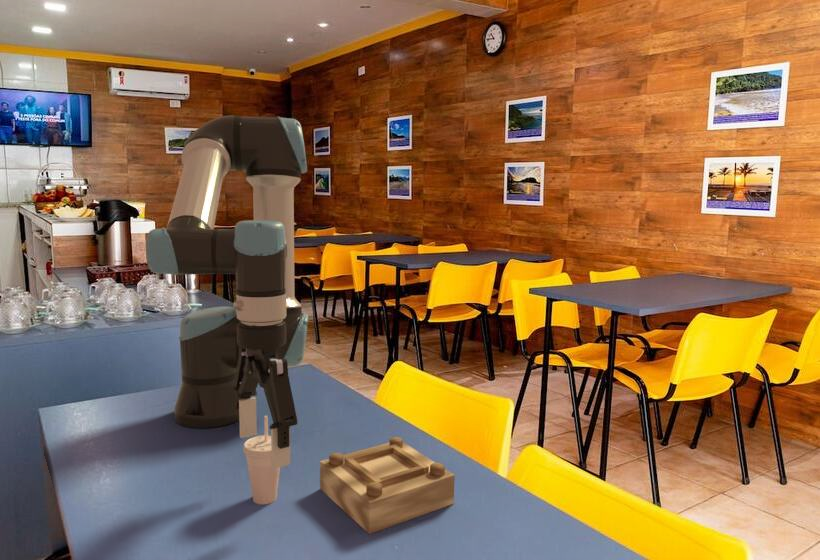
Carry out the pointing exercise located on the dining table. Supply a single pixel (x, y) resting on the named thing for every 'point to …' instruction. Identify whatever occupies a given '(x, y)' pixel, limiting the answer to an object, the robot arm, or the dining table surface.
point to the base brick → (386, 484)
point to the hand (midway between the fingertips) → (263, 450)
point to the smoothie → (261, 467)
